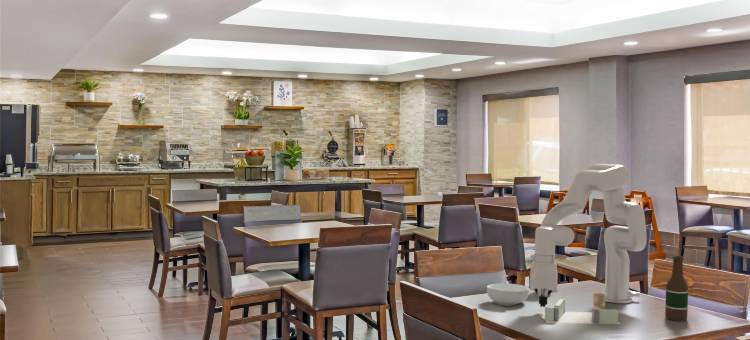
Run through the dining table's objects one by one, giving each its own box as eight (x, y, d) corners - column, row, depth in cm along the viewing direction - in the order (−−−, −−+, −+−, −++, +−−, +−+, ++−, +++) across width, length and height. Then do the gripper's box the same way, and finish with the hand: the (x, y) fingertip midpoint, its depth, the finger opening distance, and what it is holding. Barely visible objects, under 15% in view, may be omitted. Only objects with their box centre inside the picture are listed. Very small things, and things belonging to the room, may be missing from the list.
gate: (559, 319, 262) (559, 305, 262) (553, 318, 263) (554, 305, 262) (565, 311, 274) (565, 298, 274) (559, 310, 275) (560, 298, 275)
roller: (602, 313, 272) (602, 293, 272) (606, 316, 268) (607, 295, 268) (591, 313, 272) (591, 293, 272) (595, 316, 268) (595, 295, 268)
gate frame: (605, 313, 275) (605, 300, 275) (621, 325, 258) (621, 310, 258) (536, 313, 274) (536, 299, 274) (547, 324, 257) (547, 309, 257)
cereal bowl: (536, 304, 290) (536, 287, 290) (514, 310, 278) (514, 293, 278) (500, 297, 302) (501, 281, 301) (478, 303, 289) (478, 286, 289)
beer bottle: (686, 317, 271) (688, 255, 270) (688, 322, 264) (690, 258, 263) (664, 315, 274) (666, 254, 273) (665, 320, 266) (667, 257, 265)
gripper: (523, 258, 272) (521, 305, 273) (562, 262, 266) (561, 310, 266) (527, 256, 279) (525, 302, 279) (565, 259, 273) (564, 306, 273)
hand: (543, 306), depth 273 cm, fingers closed
